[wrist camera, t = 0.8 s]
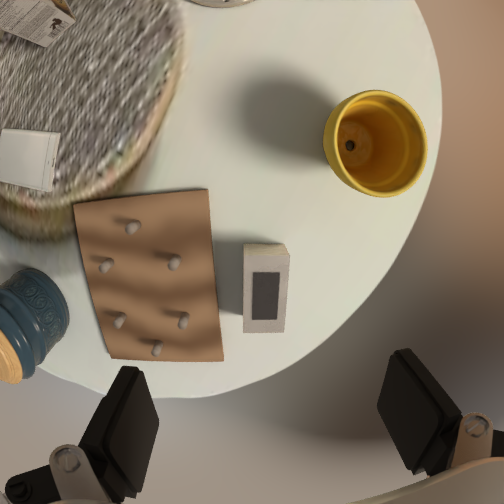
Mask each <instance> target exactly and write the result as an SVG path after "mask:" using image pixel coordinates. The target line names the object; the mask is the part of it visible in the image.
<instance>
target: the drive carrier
mask: <svg viewBox="0 0 504 504" xmlns="http://www.w3.org/2000/svg"><path fill="white" fill-rule="evenodd" d="M289 262H290V255H289V253H288V251H287V248H286V246H285V244H244V248H243V333H278V332H284V326H285V315H286V303H287V290H288V277H289Z"/></svg>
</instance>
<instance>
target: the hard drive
mask: <svg viewBox="0 0 504 504" xmlns="http://www.w3.org/2000/svg"><path fill="white" fill-rule="evenodd" d="M60 134H61V133H56V132H46V131H36V130H24V129H9V128H3V129H2V132H1V137H0V181H1V182H5V183H10V184H14V185H19V186H23V187H27V188H32V189H36V190H40V191H45V192H51V190H52V182H53V174H54V167H55V161H56V155H57V149H58V144H59V139H60Z"/></svg>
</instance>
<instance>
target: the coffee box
mask: <svg viewBox="0 0 504 504" xmlns="http://www.w3.org/2000/svg"><path fill="white" fill-rule="evenodd" d="M75 22H76V18H75V16H74V14H73V12H72V11H71V9H70V7H69V5H68V3H67V1H66V0H0V29H1V30H3V31H6V32H9V33H11V34H14V35H16V36H19V37H21V38H24V39H26V40H29V41H31V42H33V43H36V44H38V45H40V46H43V47H45V48H46V47H47V46H49V45H50V44H51V43H52V42H53V41H54V40H55V39H56V38H57V37H58V36H59V35H61V34H62V33H63V32H64V31H65V30H66V29H68V28H69V27H70V26H71V25H72V24H74V23H75Z"/></svg>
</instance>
